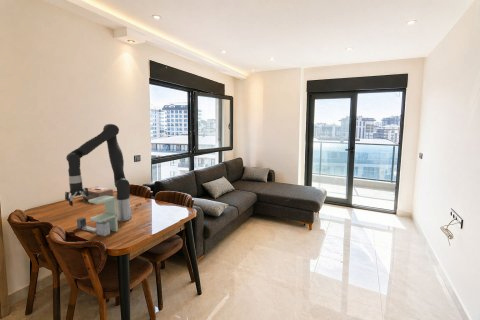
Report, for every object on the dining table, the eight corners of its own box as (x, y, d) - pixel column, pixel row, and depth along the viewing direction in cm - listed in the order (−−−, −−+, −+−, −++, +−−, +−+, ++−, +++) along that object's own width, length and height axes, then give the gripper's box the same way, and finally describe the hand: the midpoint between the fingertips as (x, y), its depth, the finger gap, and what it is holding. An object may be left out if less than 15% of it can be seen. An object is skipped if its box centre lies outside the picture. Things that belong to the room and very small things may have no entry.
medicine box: (110, 233, 173) (109, 221, 172) (104, 236, 169) (103, 224, 168) (102, 231, 176) (101, 220, 174) (96, 234, 172) (95, 222, 170)
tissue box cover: (113, 199, 252) (112, 189, 251) (99, 202, 240) (98, 192, 238) (97, 195, 264) (96, 186, 263) (83, 199, 251) (82, 189, 250)
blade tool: (83, 226, 185) (82, 217, 184) (99, 231, 177) (98, 221, 176) (77, 228, 181) (76, 219, 180) (93, 233, 174) (92, 223, 173)
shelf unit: (108, 228, 182) (105, 195, 178) (118, 230, 177) (115, 196, 174) (91, 235, 170) (88, 200, 166) (101, 238, 166) (98, 202, 162)
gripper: (83, 179, 181) (85, 200, 184) (61, 183, 170) (64, 206, 172) (89, 180, 178) (91, 202, 180) (67, 184, 166) (69, 208, 168)
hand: (78, 204), depth 176 cm, fingers open, 8 cm apart
